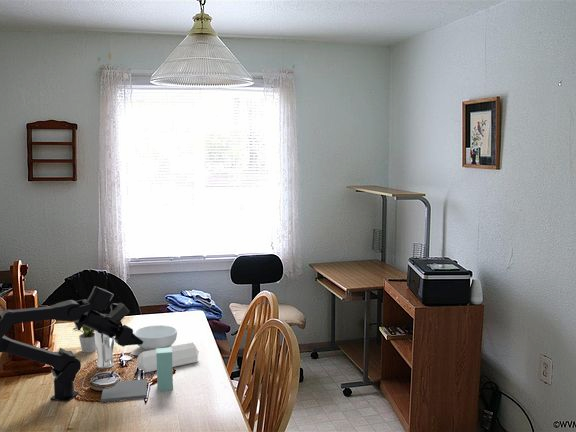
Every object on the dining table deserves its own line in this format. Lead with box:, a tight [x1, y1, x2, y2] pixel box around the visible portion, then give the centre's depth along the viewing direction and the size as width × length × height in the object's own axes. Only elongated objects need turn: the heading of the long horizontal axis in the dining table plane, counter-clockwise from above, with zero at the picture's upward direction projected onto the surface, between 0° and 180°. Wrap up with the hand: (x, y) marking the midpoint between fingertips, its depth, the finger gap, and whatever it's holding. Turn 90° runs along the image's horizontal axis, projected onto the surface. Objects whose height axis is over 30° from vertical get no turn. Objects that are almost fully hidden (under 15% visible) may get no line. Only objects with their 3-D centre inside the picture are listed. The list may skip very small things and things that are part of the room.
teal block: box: [156, 346, 174, 392], centre depth 198 cm, size 5×5×13 cm
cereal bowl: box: [133, 324, 178, 351], centre depth 239 cm, size 17×17×7 cm
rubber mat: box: [100, 378, 148, 403], centre depth 195 cm, size 14×14×1 cm
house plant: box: [72, 326, 97, 353], centre depth 235 cm, size 14×14×16 cm
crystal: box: [136, 342, 199, 373], centre depth 220 cm, size 7×7×24 cm
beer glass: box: [94, 330, 115, 369], centre depth 219 cm, size 7×7×15 cm
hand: (138, 339), depth 203 cm, fingers open, 9 cm apart
